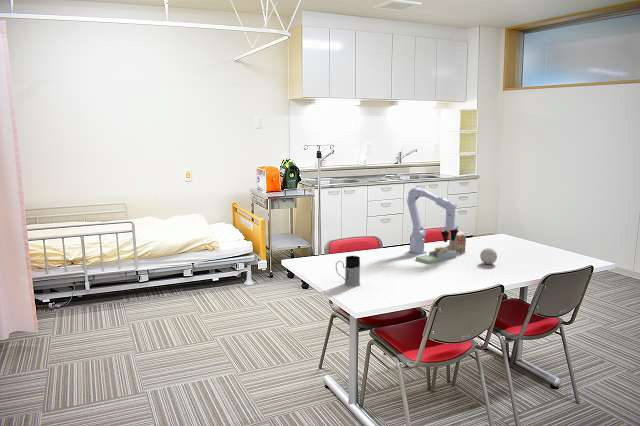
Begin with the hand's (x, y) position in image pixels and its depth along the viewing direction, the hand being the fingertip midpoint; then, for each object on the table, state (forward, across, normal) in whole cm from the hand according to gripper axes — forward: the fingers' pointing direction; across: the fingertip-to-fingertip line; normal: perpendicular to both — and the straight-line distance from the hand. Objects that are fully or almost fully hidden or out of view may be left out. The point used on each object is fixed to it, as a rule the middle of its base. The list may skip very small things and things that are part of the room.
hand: (449, 241), depth 340 cm
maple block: (+8, -8, 0) cm, 12 cm away
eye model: (+11, +7, -26) cm, 29 cm away
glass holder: (+11, -92, -9) cm, 93 cm away
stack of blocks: (+11, +22, +11) cm, 27 cm away
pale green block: (+10, -11, 0) cm, 15 cm away
